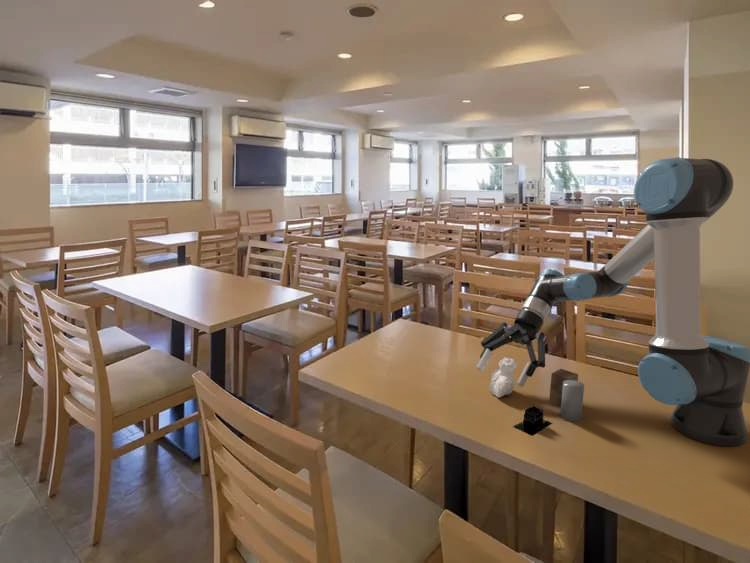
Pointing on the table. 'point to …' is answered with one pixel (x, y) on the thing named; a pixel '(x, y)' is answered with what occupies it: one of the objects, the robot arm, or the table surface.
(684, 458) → the table surface
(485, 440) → the table surface
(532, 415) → the notched block on base
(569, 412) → the grey rounded cylinder
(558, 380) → the walnut block
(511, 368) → the bust
